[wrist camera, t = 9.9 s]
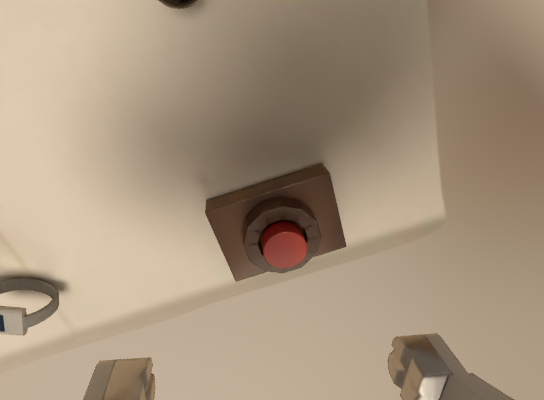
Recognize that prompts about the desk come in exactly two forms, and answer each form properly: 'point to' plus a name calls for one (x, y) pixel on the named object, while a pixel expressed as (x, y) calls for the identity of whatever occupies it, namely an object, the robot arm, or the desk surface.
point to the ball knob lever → (178, 3)
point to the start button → (283, 244)
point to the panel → (276, 219)
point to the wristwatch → (15, 317)
